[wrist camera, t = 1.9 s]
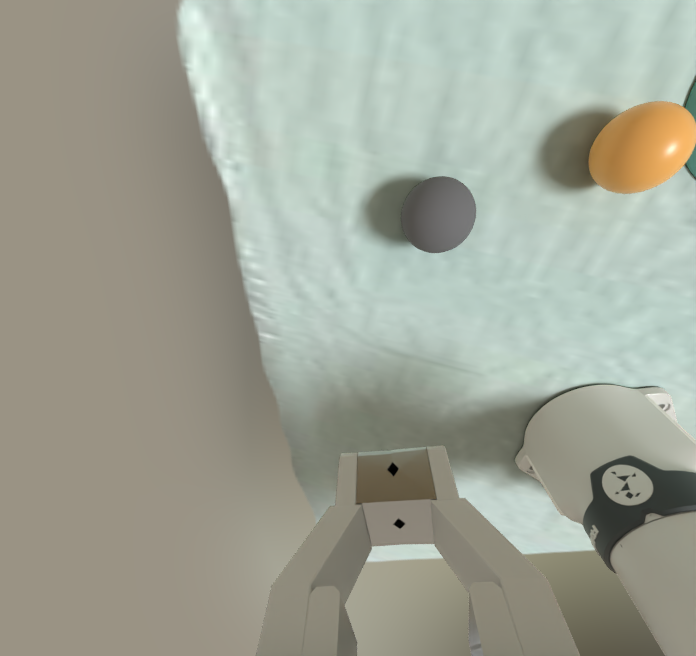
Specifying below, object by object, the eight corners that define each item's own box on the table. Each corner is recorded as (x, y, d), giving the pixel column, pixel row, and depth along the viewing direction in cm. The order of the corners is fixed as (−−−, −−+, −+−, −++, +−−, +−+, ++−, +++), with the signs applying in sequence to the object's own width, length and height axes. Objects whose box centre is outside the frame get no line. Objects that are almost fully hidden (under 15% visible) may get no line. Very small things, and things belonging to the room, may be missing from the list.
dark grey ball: (478, 212, 30) (502, 224, 24) (425, 256, 32) (436, 276, 27) (438, 158, 28) (454, 159, 23) (384, 209, 30) (388, 220, 25)
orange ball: (664, 151, 27) (737, 151, 22) (592, 205, 29) (643, 216, 24) (634, 87, 25) (706, 69, 20) (559, 149, 27) (606, 148, 22)
